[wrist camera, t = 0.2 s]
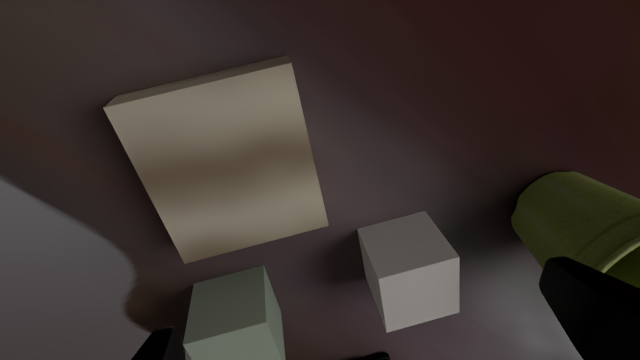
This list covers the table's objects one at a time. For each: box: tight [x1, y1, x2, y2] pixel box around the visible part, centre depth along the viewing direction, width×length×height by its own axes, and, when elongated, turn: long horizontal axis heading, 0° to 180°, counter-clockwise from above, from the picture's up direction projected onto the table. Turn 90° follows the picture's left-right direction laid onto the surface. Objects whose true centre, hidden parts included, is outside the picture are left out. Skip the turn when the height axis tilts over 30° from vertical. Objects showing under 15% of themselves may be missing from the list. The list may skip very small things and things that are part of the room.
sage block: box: [183, 265, 285, 360], centre depth 25 cm, size 5×5×5 cm
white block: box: [357, 211, 460, 333], centre depth 25 cm, size 5×5×5 cm
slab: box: [103, 55, 329, 264], centre depth 21 cm, size 10×9×2 cm
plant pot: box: [511, 171, 640, 288], centre depth 24 cm, size 9×9×9 cm
